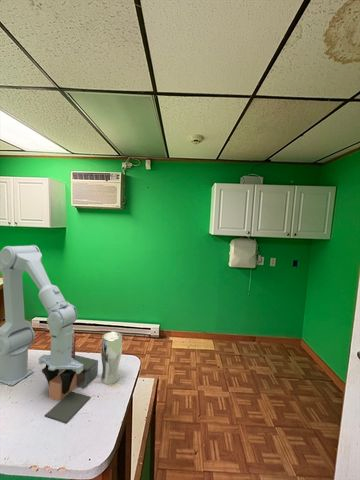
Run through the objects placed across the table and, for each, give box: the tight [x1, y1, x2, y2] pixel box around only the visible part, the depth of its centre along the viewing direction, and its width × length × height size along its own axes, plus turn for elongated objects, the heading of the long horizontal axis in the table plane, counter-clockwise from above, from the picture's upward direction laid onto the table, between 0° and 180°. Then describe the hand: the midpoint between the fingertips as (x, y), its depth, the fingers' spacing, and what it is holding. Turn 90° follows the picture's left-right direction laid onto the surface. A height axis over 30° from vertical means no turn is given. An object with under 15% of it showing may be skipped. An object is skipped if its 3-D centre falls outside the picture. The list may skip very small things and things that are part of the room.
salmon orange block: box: [48, 370, 78, 402], centre depth 75 cm, size 4×10×5 cm, turn 165°
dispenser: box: [58, 354, 99, 389], centre depth 80 cm, size 10×7×6 cm
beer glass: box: [100, 331, 123, 385], centre depth 81 cm, size 7×7×15 cm
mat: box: [44, 390, 92, 424], centre depth 68 cm, size 7×10×1 cm
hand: (59, 390), depth 72 cm, fingers closed on salmon orange block, 4 cm apart
